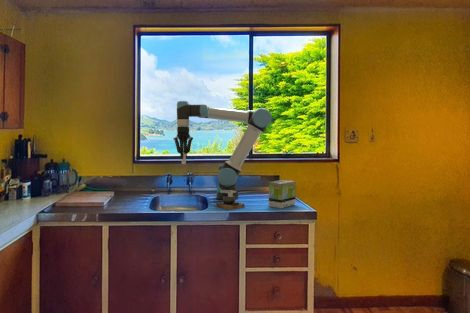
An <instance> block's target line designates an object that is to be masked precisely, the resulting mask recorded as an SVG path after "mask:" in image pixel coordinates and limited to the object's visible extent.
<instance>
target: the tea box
mask: <svg viewBox="0 0 470 313" xmlns="http://www.w3.org/2000/svg"><path fill="white" fill-rule="evenodd" d="M296 186H297V182H296V181H295V180H288V179H287V180H286V179H282V180H274V181H269V182H268V207H271V208H276V209H277V208H278V209H284V208H288V207H291V205H292V206H295V205H296V192H297V188H296ZM294 204H295V205H294Z"/></svg>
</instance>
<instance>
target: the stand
mask: <svg viewBox="0 0 470 313" xmlns="http://www.w3.org/2000/svg"><path fill="white" fill-rule="evenodd" d="M215 206H216V208H219V209H220V208H221V209H223V210H226V211H231V210H237V209H242V208H244V209H245V206H246V205H245V203H242V202H238V201H236V200H235V203H232V204H224V203H223V201H221V202H217V203H216V205H215Z"/></svg>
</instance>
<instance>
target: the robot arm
mask: <svg viewBox="0 0 470 313" xmlns="http://www.w3.org/2000/svg"><path fill="white" fill-rule="evenodd" d="M192 117H193V118H194V117H196V118H199V119H200V118H201V119H211V120H217V121H219V120H220V121H228V122H237V123H245V124H246V125H247V129H246V130H245V132H244V134H243V135H242V136H241V139H240V140H239V142H238V143H237V146H236V148H235V149H234V150H233V152H232V154H231V156H230V157H229V159H228V160H225V161H224V163H220V164H218V167H217V168H218V173H217V179H218V180H217V181H218V187H220V188H222V190H236V193H233V196H235V200H238V199H239V198H240V195H239V192H238V189H237V180H238V177H239V176H240V174H241V172H242V165H243V164H244V162H245V161H246V159H247V157H248V155H249V154H250V151H251V150H252V148H253V146H254V145H255V143H256V142H257V140H258V138H259V136H260V135H261V134H264V133H265V131H266V129H267V128H268V126H269V125H270V124H271V122H272V114H271V112H270V111H269V109H267V108H264V107H260V108H257V109H255V110H254V109H253V110H252V109H251V110H250V109H248V110H238V109H229V108H221V107H213V106H212V107H211V106H209V105H208V104H190V102H189V101H186V100H180V101H177V103H176V125H177V128H176V132H177V133H176V136H175V137H173V141H174V143H175V148H176V151H177V153H178V154H180V160H181V165H187V164H186V163H187V158H188V153H191V152H190V151H191V147H192V142H193V139H194V137H193V136H191V135H190V118H192ZM226 195H228V193H222V194H217V193H216V194H215V196H216V199H217V200H223V196H226Z"/></svg>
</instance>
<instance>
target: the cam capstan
mask: <svg viewBox="0 0 470 313" xmlns="http://www.w3.org/2000/svg"><path fill="white" fill-rule="evenodd" d="M222 193H228V195H226V196H223V201H222V202H223V203H224V204H232V203H235V201H236V199H235V196H233V193H236V190H222V188H220V187H219V186H218V187H216V194H222Z"/></svg>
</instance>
